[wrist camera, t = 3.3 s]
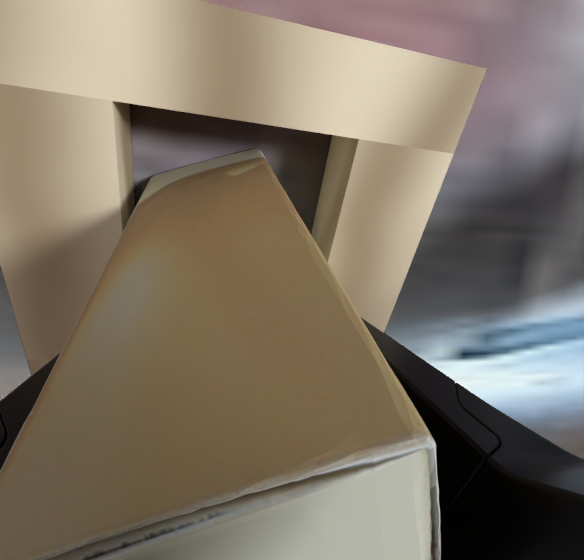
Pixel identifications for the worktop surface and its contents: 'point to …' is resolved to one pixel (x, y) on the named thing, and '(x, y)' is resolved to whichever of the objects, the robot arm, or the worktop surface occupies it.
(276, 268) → the skincare box
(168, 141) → the worktop surface
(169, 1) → the frame
